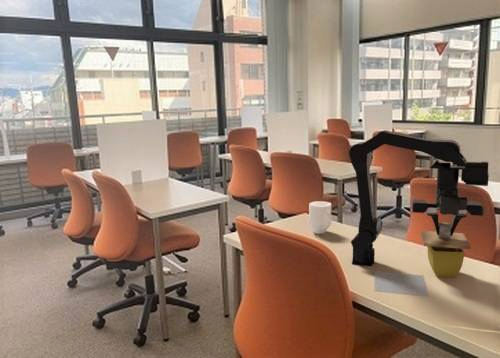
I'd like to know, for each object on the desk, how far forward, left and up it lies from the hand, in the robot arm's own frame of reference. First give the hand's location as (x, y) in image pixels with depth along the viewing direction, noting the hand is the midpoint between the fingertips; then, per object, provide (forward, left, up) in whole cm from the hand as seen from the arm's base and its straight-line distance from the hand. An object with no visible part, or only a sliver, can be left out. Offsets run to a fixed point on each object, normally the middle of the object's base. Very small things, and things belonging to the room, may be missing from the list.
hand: (444, 235), depth 123 cm
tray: (-13, -9, -13) cm, 20 cm away
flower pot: (0, +1, -13) cm, 13 cm away
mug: (-41, +33, -13) cm, 53 cm away
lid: (0, 0, -2) cm, 2 cm away
